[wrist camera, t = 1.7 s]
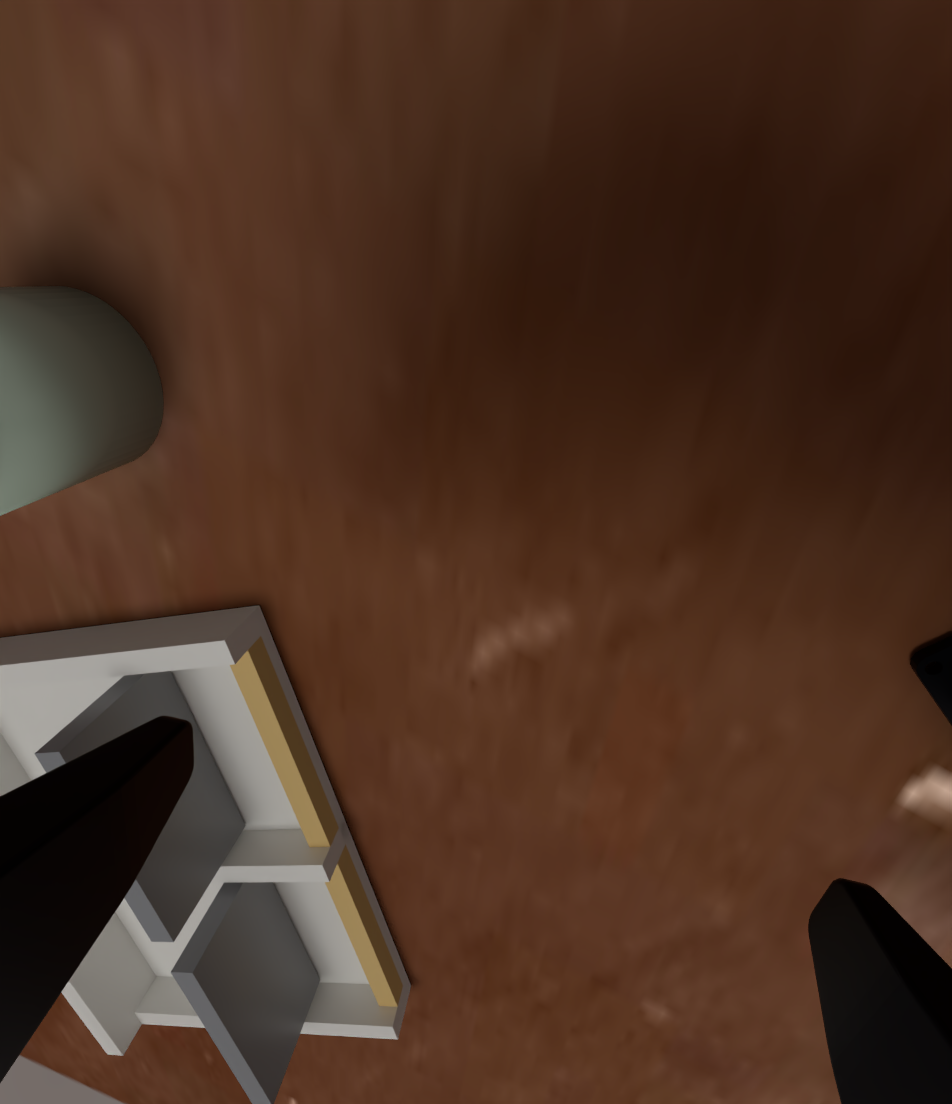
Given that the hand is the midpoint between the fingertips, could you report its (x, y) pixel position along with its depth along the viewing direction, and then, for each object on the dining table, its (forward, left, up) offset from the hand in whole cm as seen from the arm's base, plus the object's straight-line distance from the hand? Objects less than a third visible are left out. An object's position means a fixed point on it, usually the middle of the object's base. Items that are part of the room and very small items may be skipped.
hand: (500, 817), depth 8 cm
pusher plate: (+1, +19, -12) cm, 22 cm away
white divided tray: (-3, +24, -13) cm, 27 cm away
